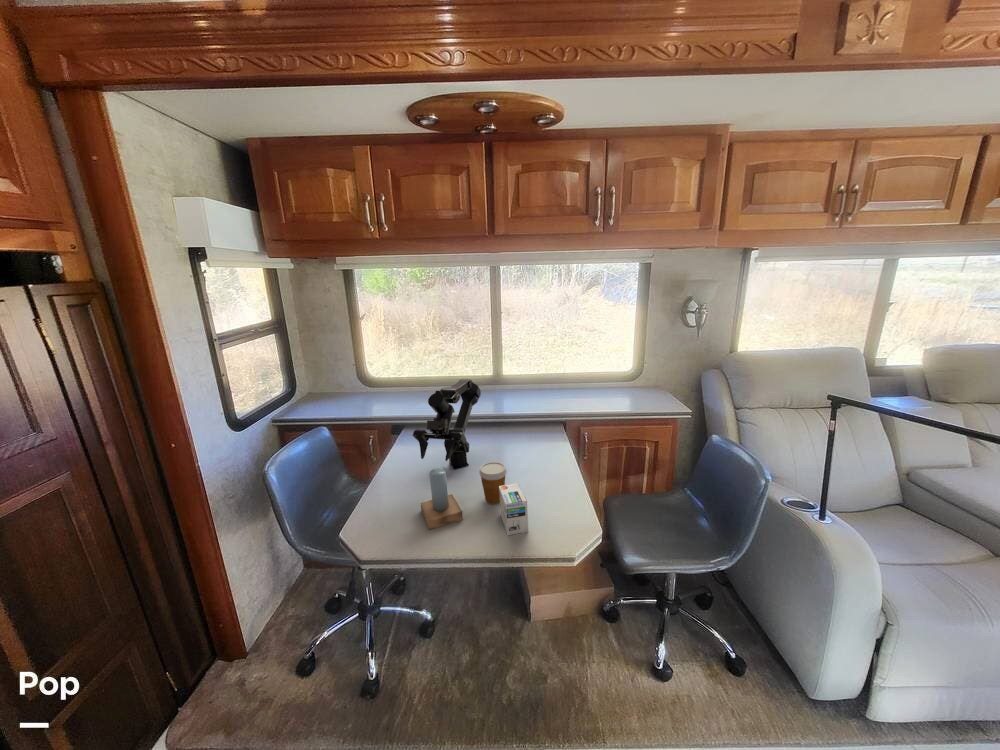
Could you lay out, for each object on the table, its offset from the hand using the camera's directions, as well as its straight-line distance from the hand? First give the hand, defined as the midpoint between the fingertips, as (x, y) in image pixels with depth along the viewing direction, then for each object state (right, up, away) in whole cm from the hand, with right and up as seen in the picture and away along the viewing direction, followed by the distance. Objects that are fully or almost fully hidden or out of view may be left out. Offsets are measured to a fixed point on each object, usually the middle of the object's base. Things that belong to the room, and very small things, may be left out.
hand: (433, 459), depth 131 cm
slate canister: (+4, -13, -10) cm, 17 cm away
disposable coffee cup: (+21, -14, -1) cm, 25 cm away
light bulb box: (+28, -17, -15) cm, 35 cm away
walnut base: (+4, -16, -9) cm, 19 cm away
